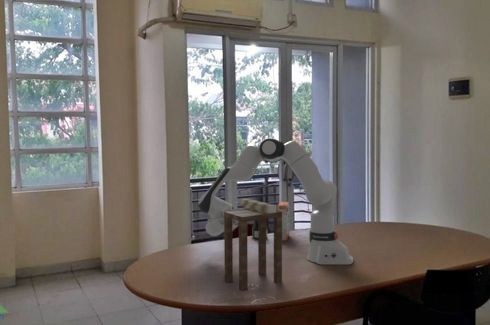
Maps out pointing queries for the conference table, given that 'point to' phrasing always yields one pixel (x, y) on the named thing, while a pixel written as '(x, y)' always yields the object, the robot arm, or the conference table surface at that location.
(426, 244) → the conference table surface
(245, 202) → the bar
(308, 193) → the robot arm
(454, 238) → the conference table surface
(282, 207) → the cracker box
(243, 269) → the stand
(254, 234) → the ink bottle
